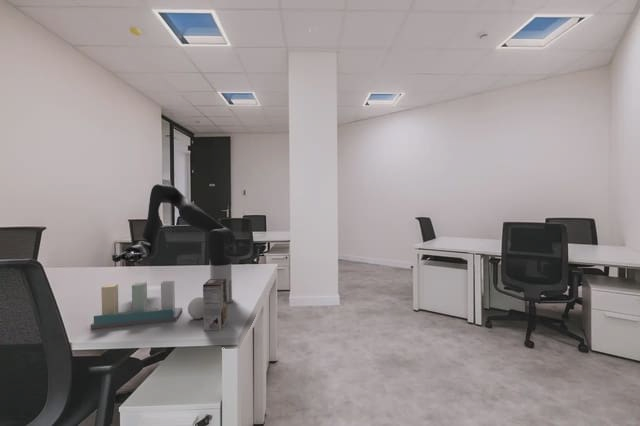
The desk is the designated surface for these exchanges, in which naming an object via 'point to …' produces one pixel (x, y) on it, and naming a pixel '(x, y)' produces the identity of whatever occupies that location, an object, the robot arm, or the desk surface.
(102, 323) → the keypad base
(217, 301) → the coffee box
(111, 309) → the block
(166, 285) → the light grey tall block
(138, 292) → the key sage
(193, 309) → the ball
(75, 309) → the desk surface
